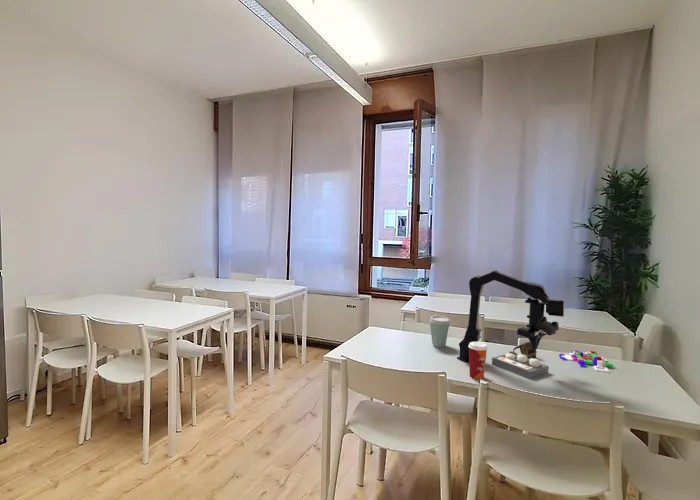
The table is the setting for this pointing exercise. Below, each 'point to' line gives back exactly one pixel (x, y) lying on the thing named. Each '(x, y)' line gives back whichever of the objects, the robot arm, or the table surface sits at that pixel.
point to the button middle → (522, 358)
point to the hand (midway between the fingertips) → (535, 349)
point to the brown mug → (525, 349)
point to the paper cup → (477, 359)
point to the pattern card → (514, 363)
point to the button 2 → (534, 363)
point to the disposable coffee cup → (439, 330)
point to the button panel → (520, 371)
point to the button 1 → (510, 356)
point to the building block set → (591, 355)
